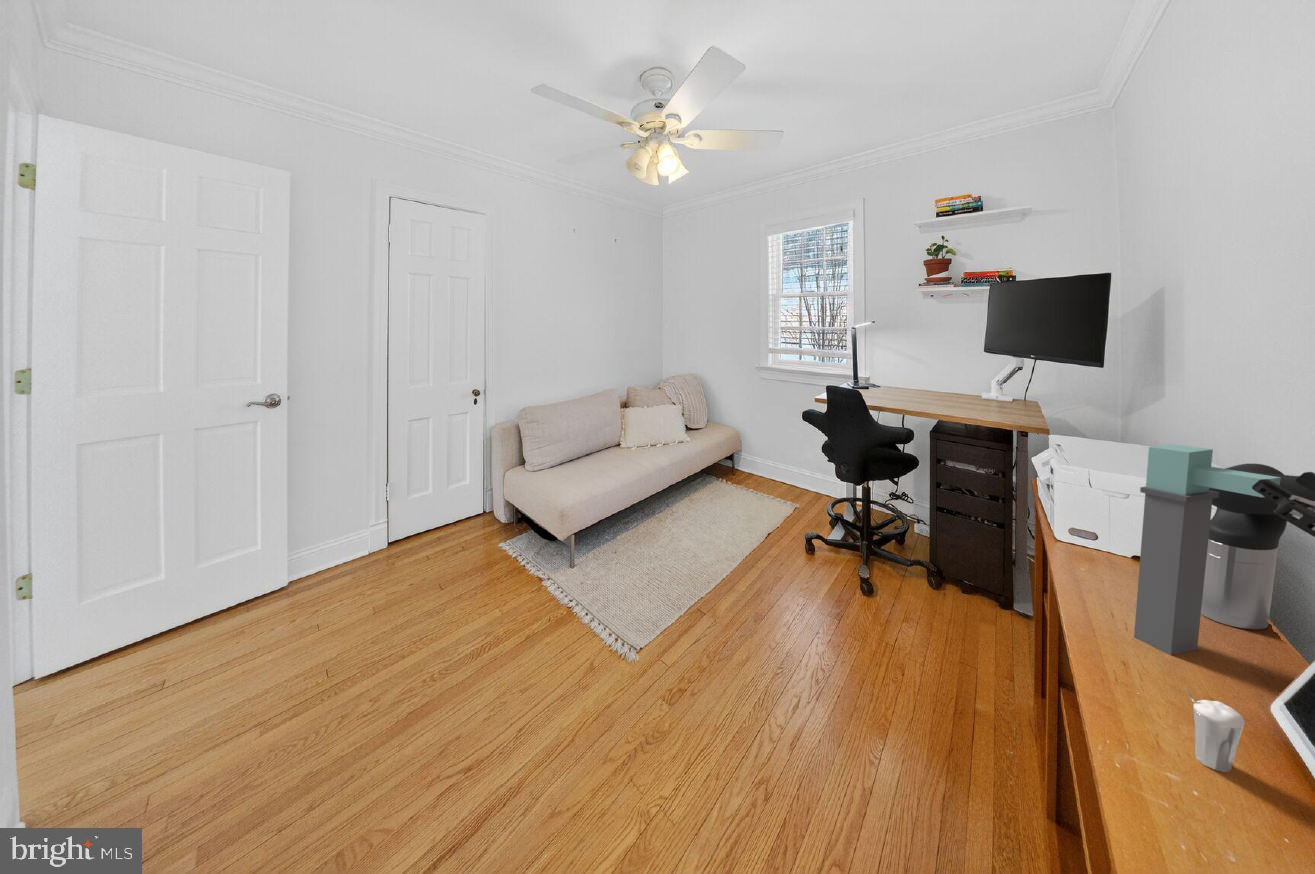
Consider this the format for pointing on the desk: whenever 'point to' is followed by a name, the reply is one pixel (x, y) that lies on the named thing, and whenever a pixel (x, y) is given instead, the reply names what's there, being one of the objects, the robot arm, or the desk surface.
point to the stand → (1172, 569)
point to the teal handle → (1195, 472)
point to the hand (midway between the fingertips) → (1279, 479)
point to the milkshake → (1216, 733)
